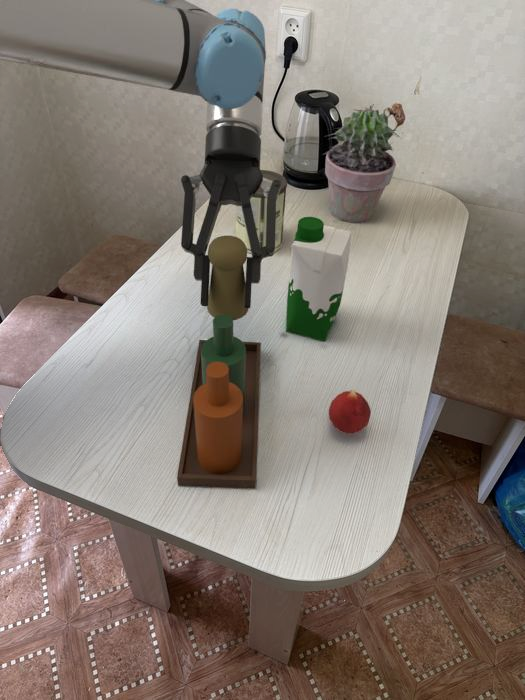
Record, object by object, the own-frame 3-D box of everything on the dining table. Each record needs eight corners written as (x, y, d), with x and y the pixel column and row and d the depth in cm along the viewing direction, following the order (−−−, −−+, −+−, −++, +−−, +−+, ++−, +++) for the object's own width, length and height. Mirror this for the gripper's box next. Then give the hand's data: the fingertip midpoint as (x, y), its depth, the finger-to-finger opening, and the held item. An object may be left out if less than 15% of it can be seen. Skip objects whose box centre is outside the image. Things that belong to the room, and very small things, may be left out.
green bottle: (202, 422, 73) (196, 335, 61) (206, 391, 77) (201, 304, 66) (243, 424, 73) (245, 338, 61) (245, 393, 78) (247, 307, 66)
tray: (178, 486, 66) (176, 477, 65) (199, 348, 85) (199, 339, 84) (255, 489, 66) (256, 480, 65) (260, 351, 85) (260, 342, 84)
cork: (225, 326, 70) (224, 259, 62) (198, 305, 73) (194, 239, 65) (257, 309, 73) (260, 243, 65) (230, 289, 76) (230, 224, 68)
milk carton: (293, 304, 95) (303, 207, 81) (340, 316, 93) (359, 218, 79) (279, 334, 89) (288, 233, 75) (329, 346, 87) (347, 246, 73)
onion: (368, 419, 76) (378, 383, 70) (361, 449, 72) (372, 413, 66) (330, 409, 77) (338, 372, 71) (321, 438, 73) (329, 402, 67)
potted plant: (294, 201, 124) (304, 93, 107) (363, 190, 130) (383, 85, 113) (329, 238, 112) (347, 123, 95) (402, 224, 118) (431, 113, 101)
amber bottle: (195, 473, 67) (187, 387, 55) (200, 436, 71) (194, 350, 60) (240, 475, 67) (242, 390, 55) (242, 438, 71) (244, 352, 60)
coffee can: (249, 225, 115) (251, 165, 105) (290, 238, 112) (295, 177, 102) (226, 246, 108) (226, 183, 99) (268, 260, 105) (272, 197, 95)
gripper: (298, 150, 72) (291, 311, 72) (171, 144, 72) (163, 306, 72) (303, 126, 65) (295, 306, 64) (161, 118, 65) (152, 299, 64)
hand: (226, 305), depth 68 cm, fingers closed on cork, 5 cm apart
